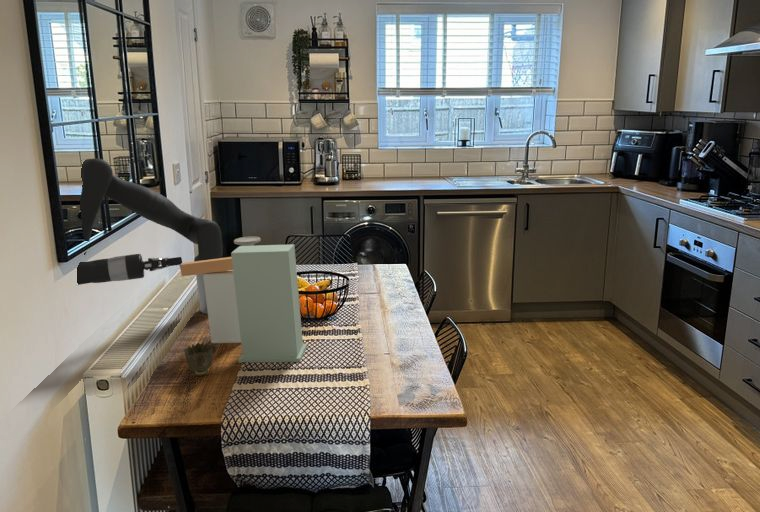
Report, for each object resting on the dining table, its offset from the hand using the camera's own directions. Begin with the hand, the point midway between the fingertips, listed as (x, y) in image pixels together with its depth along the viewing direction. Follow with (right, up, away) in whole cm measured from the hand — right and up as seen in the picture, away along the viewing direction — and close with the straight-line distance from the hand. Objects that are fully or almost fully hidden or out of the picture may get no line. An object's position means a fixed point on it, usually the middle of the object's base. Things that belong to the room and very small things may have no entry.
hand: (181, 260), depth 192 cm
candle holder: (+11, -12, +56) cm, 58 cm away
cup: (+13, -31, -22) cm, 41 cm away
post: (+15, -25, +2) cm, 29 cm away
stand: (+31, -27, -11) cm, 43 cm away
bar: (+14, -3, -3) cm, 15 cm away
